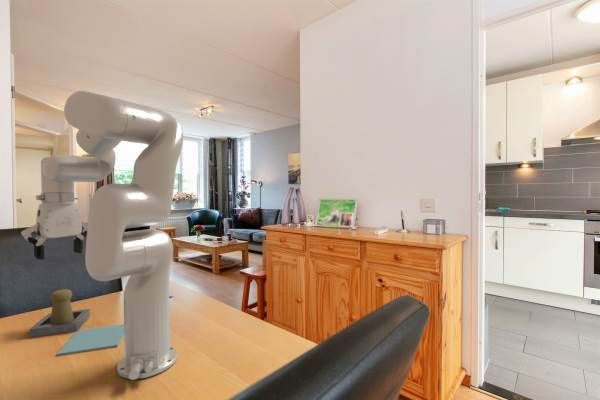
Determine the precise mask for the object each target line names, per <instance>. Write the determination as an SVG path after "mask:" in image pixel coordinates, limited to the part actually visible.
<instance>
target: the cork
mask: <svg viewBox="0 0 600 400" xmlns="http://www.w3.org/2000/svg"><path fill="white" fill-rule="evenodd" d="M72 297H73V292H72V291H71V289H67V288H64V289H58V290H55V291H53V292H52V293H51V294H50V297H49V300H50V302H51V320H50V324H58V323H66V322H73V321H74V317H73V312H72V311H73V308H72V302H71V299H72Z"/></svg>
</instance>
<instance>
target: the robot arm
mask: <svg viewBox="0 0 600 400" xmlns="http://www.w3.org/2000/svg"><path fill="white" fill-rule="evenodd" d="M63 113H64V117H65V120H66V122H67V123H68V124H69V125H70V126H71V127H73V128H74V129H77V132H76V134H75V141H76V143H77V145H78V146H79V147H80V148H81V150H83V151H84V152H85V153H87V154H88V155H90V156H82V155H69V154H52V155H50V156H46V157H43V158H42V159H41V161H40V177H41V178H40V180H41V181H40V183H41V192H40V194H39V195H36V196H35V200H36V201H40V204H39V203H38V208H37V213H36V220H35V224H34V225H32V226H30V227H28V228H26V229H24V230H22V231H21V232H20V234H21V235H22V237H23V238H24V239H25V241H26V242H27V243H28V244H31V245H32V246H33V256H34V257H35V259H36V260H41V261H43V260H44V259H45V246H44V245H43V244H44V243H45V241H46V240H47V239H56V238H66V237H73V238H74V240H73V252H74V253H75V254H81V253H83V249H84V246H83V241H84V240H85V237H86V242H85V254H84V255H85V257H84V258H85V259H84V260H85V261H84V262H85V267H86V271H87V273H88V275H89V276H90V277H91V279H93V280H95V281H98V282H108V281H114V280H118V279H122V278H126V277H128V276H129V278H128V279H127V282H126V283H125V284H126V285H125V287H124V290H123V324H124V335H123V338H124V341H123V342H124V356H122V358H121V359H119V361H118V363H117V365H116V371H117V374H118V376H120V377H122V378H125V379H129V380H131V381H134V380H139V379H146V378H149V377H153V376H157V375H158V374H160V373H162V372H164V371H166V370H167V369H169V368H170V367H172V366H173V365H174V364H175V362H176V361H177V359H178V351H177V349H176V348H175V347H174V346H172V345H171V331H170V329H171V328H170V327H171V326H170V324H171V323H170V322H171V321H170V318H171V317H170V301H169V296H170V274H171V265H172V260H173V254H174V243H173V240H172V238H171V237H170V235H169V234H168V233H166V232H165V231H163V230H161V229H156V228H155V229H154V228H149V229H140V230H132V231H128V232H125V230H126V229H133V228H141V227H143V228H144V227H150V226H158V225H161V224H162V223H165V222H166V221H167V220H168V219H169V217H170V215H171V210H172V205H173V196H174V187H175V181H176V170H177V165H178V161H179V159H180V156H181V151H182V149H183V145H184V131H183V128H182V126H181V123H180V122H179V121H178V120H177V119H176V117H174V116H173V115H172V114H170V113H168V112H165V111H163V110H160V109H158V108H154V107H152V106H151V107H150V106H148V105H147V106H146V105H143V104H139V103H135V102H131V101H128V100H125V99H120V98H116V97H112V96H108V95H103V94H98V93H96V92H95V93H94V92H90V91H86V90H78V91H75V92H73V93H72V94H71V95H69V97H68V98H67V99H66V101H65V105H64V108H63ZM122 141H123V142H129V143H138V144H144V145H147V147H145V148H144V149H143V150H142V151H141V153H140V154H139V155H138V156H137V157H136V159H135V161H134V165H133V171H132V172H133V174H132V180H131V182H130V183H107V184H104V185H102V186H100V187H99V188H97V190H96V191H95V192H94V193H93V194H92V197H91V199H90V203H89V211H88V219H87V223H86V222H83V221H82V216H81V215H82V214H81V211H80V207H79V204H78V202H75V185H74V184H75V183H77V182H79V183H96V182H100V181H102V180H104V179H105V178H107V177H108V175H110V174H111V173H112V171H113V170H114V169H115V165H116V157H117V156H116V152H115V148H116V147H117V146H118V145H119V144H120V143H121V142H122ZM34 232H35V234H36V237H35V238H34V237H33V236H32V233H34Z"/></svg>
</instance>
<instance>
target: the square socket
mask: <svg viewBox="0 0 600 400" xmlns="http://www.w3.org/2000/svg"><path fill="white" fill-rule="evenodd" d="M72 312H73V317H74V321H73V322H66V323H58V324H50V320H51V313H50V312H49V313H47V314H46V315H45V316H44V317H42V318H41V319H40V320H39V321H37V322H36V323H35V324H34V325H33V326H32V327H29V339H30V338H31V339H33V338H39V337H45V336H46V337H47V336H53V335H61V334H63V335H64V334H68V333H70V334H71V333H76V332H77V331H78V330H80V329H81V327H82V326H84V324H85V323H86V322H88V320H89V318H90V317H91V309H90V308H86V309H85V308H84V309H78V310H72Z"/></svg>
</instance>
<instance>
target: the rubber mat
mask: <svg viewBox="0 0 600 400" xmlns="http://www.w3.org/2000/svg"><path fill="white" fill-rule="evenodd" d="M123 338H124V323H123V324H116V325H110V326H109V325H108V326H102V327H95V328H87V329H79V330H78V331H77V332H74V334H73V335H72V337H71V338H70V339H69V340H68V341H67V342H66V343H65V344H64V345H63V347H62V348H61V349H59V351H58V353H57V356H65V355H71V354H77V353H79V354H80V353H84V352H90V351H91V352H92V351H98V350H106V349H110V348H111V349H112V348H117V347H118V346H119V344H120V343H121V340H122V339H123Z"/></svg>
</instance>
